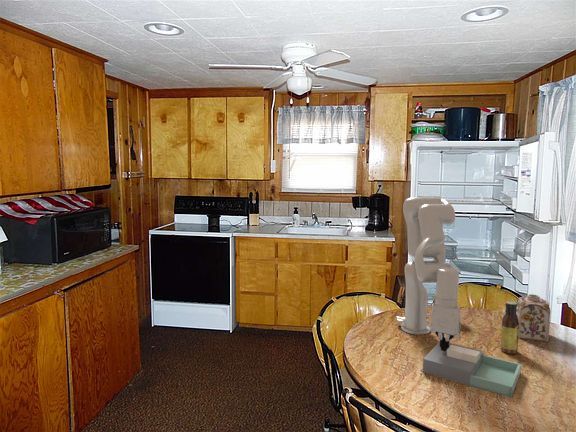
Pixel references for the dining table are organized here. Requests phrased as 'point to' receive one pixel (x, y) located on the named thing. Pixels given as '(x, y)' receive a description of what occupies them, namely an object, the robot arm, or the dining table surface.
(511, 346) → the sauce bottle
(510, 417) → the dining table surface
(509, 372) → the box
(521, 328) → the decorative jar
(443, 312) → the robot arm
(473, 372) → the slate block
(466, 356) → the tile
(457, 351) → the tile
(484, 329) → the dining table surface
